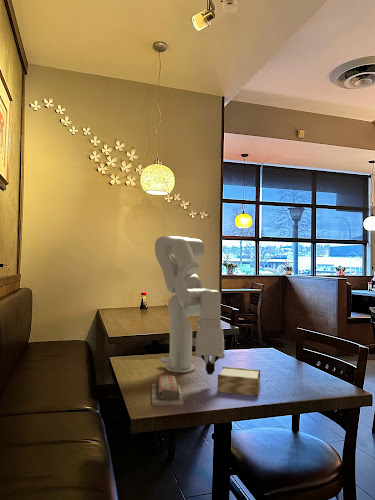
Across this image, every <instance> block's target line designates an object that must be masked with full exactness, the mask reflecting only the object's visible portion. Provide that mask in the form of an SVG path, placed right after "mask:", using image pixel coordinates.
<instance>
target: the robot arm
mask: <svg viewBox="0 0 375 500" xmlns="http://www.w3.org/2000/svg"><path fill="white" fill-rule="evenodd" d="M205 252H206V249H205V245H204V242H203V241H202V240H201V239H199V238H193V237H189V236H177V235H162V236H159V237H158V238H156V240H155V243H154V254H155V257H156V260H157V262H158V264H159V266H160V268H161V271H162V275H163V278H164V282H165V285H166V289H167V291H168V292H169V294H171V295H172V296H171V297H170V298H169V299H168V303H167V307H168V314H169V356H167V357H163V356H161V357H160V362H161V363H162V364H166V365H165V370H167V372H171V373H176V374H177V373H179V374H180V373H181V374H182V373H183V374H184V373H185V374H186V373H191V372H193V371H195V370H196V364H193V363H192V361H193V360H192V359H193V350H192V349H193V326H192V323H191V322H190V320H189V318H188V317H196V316H197V317H198V316H199V318H198V319H196V324H199V326H198V327H197V331H196V339H195V353H196V354H195V356H196V357H198V358H201V359H202V360H203V362H204V363H205V372H207V373H206V374H207V375H210V376H212V375H213V374H214V373H215V370H216V368H215V363H216V362H217V361H218V360H222V359H225V357H226V355H225V338H224V337H225V336H224V330H223V326H221V322H222V321H221V318H222V317H221V315H222V314H221V306H222V305H221V304H222V303H221V300H222V299H221V296H222V295H221V292H220V291H219V289H210V288H205V287H204V285H203V283H202V280H201V278H200V277H199V275H197V274H196V273H197V272H198V271H199V269H200V263H199V261H198V259H200V258H203V256H204V255H205ZM173 255H174V256H173ZM210 357H211V359H210Z"/></svg>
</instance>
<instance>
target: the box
mask: <svg viewBox="0 0 375 500" xmlns="http://www.w3.org/2000/svg"><path fill="white" fill-rule="evenodd" d="M223 368H225V369H237V370H248V371H259V377H258V378H250V377H240V376H229V375H220V374H217V392H218V393H228V394H235V395H236V394H237V395H244V396H254V397H255V396H256V397H259V394H260V389H261V370H260V369H253V368H244V367H243V368H241V367H231V366H230V367H229V366H222V370H223ZM222 370H221V371H222Z"/></svg>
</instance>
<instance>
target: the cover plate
mask: <svg viewBox="0 0 375 500" xmlns="http://www.w3.org/2000/svg"><path fill="white" fill-rule="evenodd" d="M219 375H229V376H240V377H250V378H258V377H259V371H248V370H237V369H225V368H223V370H221V372H220V374H219Z"/></svg>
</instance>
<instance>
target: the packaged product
mask: <svg viewBox="0 0 375 500" xmlns="http://www.w3.org/2000/svg"><path fill="white" fill-rule="evenodd" d="M156 378H157V381H156V383H155V382H154V383H152V385H151V387H152V388H151V399H152V400H151V403H152V404H151V405H152V406H182V405H183V406H184V398H183V395H182V391H181V390H182V389H181V387H180V383H178V381H177V377H176V376H174V375H171V374H168V375H166V374H165V375H157V377H156Z"/></svg>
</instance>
